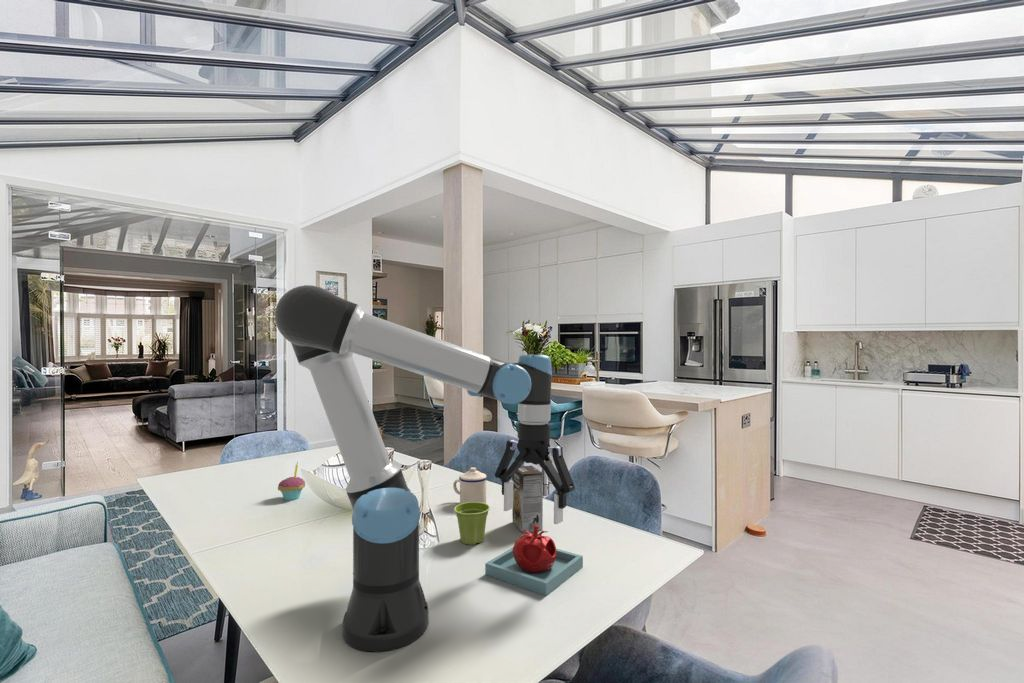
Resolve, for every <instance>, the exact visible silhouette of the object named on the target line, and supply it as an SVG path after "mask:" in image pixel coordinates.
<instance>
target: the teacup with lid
mask: <svg viewBox="0 0 1024 683" xmlns="http://www.w3.org/2000/svg"><path fill="white" fill-rule="evenodd" d="M469 468H470V469H469V470H468V471H466V472H464V473H461V474H460V475H459V478H458V479H456V480H454V481H453V486H452V487H453V490H454V492H455V494H457V495H459V504H462V503H467V502H481V503H485V504H487V478H488V477H487V474H486V473H484V472H481V471H479V470H477V468H476V467H469ZM458 482H459V490H458V487H457V483H458Z"/></svg>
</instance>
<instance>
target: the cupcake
mask: <svg viewBox="0 0 1024 683" xmlns="http://www.w3.org/2000/svg"><path fill="white" fill-rule="evenodd" d="M298 462H299V461H297V462H296V464H295V470H294V475H293V476H289V477H287V478H285V479H282V480H281V481H280V482H279V483H278V485H277V491H280V493H281V494H282V497H283V500H284V501H295V500H298V499H300V498H301V494H302V491H303V489H304V488H305V487H306V481H305V480H304V478H302V477H299V476H297V474H298V467H299V466H298V465H299V464H298Z"/></svg>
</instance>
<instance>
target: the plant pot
mask: <svg viewBox="0 0 1024 683" xmlns="http://www.w3.org/2000/svg"><path fill="white" fill-rule="evenodd" d="M490 509H491V506H490V505H489V504H487V503H486V504H485V503H481V502H467V503H462V504H460V503H458V504H457V505H455V507H454V508H453V510H454V512H455V515H456V518H457V524H458V529H459V537H460V542H462V543H463V544H465V545H471V546H472V545H475V544H478V543H479V544H481V543H482V542H484V540H485V534H486V533H485V532H486V526H487V519H488V518H487V517H488V515H489V511H490Z"/></svg>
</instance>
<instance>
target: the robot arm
mask: <svg viewBox="0 0 1024 683" xmlns="http://www.w3.org/2000/svg"><path fill="white" fill-rule="evenodd" d="M274 321H275V325H276V328H277V329H278V331H279V333H280V334H281V335H282V337H283V338H284V339H285V340H287V341H288V342H289V343H290V344H291V346H292V349H293V351H294V352H293V353H294V355H295V358H296V359H297V362H298V365H299V366H302V367H304V368H306V369H308V370H309V372H310V373H311V377H312V380H313V382H314V385H315V388H316V390H317V393H318V396H319V398H320V401H321V404H322V406H323V410H324V411H325V414H326V417H327V420H328V423H329V426H330V427H331V430H332V433H333V436H334V439H335V442H336V444H337V447H338V449H339V452H340V456H341V457H342V461H343V463H344V465H345V466H344V467H345V469H346V471H347V475H348V477H349V480H348V483H347V485H346V487H345V491H346V495H347V498H348V500H349V504H350V506H351V509H352V510H353V512H352V515H351V524H352V527H353V529H352V530H353V531H352V533H353V535H352V544H353V545H352V553H353V554H352V557H353V558H352V575H353V576H352V578H353V580H352V584H353V585H352V591H351V593H350V597H349V601H348V604H347V608H346V611H345V613H344V615H343V619H342V638H343V640H344V642H345V643H346V644H348V645H349V646H350V647H352V648H354V649H357V650H360V651H366V652H383V651H385V652H386V651H391V650H395V649H398V648H401V647H404V646H406V645H409V644H411V643H412V642H414V641H416V640H417V639H419V638H420V637H421V636H422V635H423V634H424V633H425V631H426V630H427V628H428V626H429V624H430V622H429V621H430V619H429V617H430V616H429V614H430V613H429V612H430V610H429V605H428V602H427V601H426V600H427V599H426V597H425V593H424V590H423V587H422V585H421V584H422V583H421V581H420V539H419V538H420V518H421V509H420V506H419V499H418V498H417V496H416V495H415V494H414V493H413V492H411V489H410V488H409V487H408V485H407V481H406V479H405V476H404V474H403V471H402V469H401V466H400V465H399V464H396V463H394V462H392V461H391V460H390V457H389V454H388V452H387V449H386V446H385V443H384V441H383V438H382V435H381V431H380V430H379V427H378V423H377V421H376V419H375V416H374V412H373V410H372V407H371V404H370V402H369V399H368V396H367V393H366V391H365V388H364V385H363V382H362V379H361V378H360V374H359V372H358V369H357V366H356V363H355V360H354V358H353V353H354V354H357V355H359V356H362V357H365V358H368V359H371V360H375V361H379V362H381V363H383V364H387V365H390V366H393V367H396V368H399V369H402V370H406V371H408V372H412V373H413V374H417V375H421V376H424V377H427V378H430V379H433V380H436V381H439V382H443V383H445V384H448V385H452V386H454V387H458V388H460V389H464V390H466V392H467V394H468V395H469V396H470V397H479V398H483V397H487V398H490V399H494V400H497V401H499V402H501V403H503V404H505V405H506V404H507V405H516V404H517V420H518V421H519V422H518V423H517V439H518V441H517V440H516V439H515V438H513V439H510V440H507V441H506V443H505V444H506V445H505V450H504V453H503V455H502V457H501V460H500V461H499V464H498V466H497V469H496V470H495V473H494V478H498V479H500V481H501V496H503V511H504V512H508V511H510V510H512V509H513V481H512V476H513V475H514V474H515V473H516V472H517V470H518V469H519V468H520V467H521V466H523V464H525V463H526V464H530V463H531V464H533V465H538V466H539V468H542V469H543V471H544V472H545V474H546V476H547V477H548V479H549V480H550V482H551V484H552V486H553V487H554V489H555V491H556V492H554V494H553V525H559V524H561V523H562V522H564V509H565V508H566V507H567V494H568V493H570V492H573V491H575V490H576V487H575V484H574V481H573V479H572V476H571V474H570V471H569V469H568V466H567V463H566V460H565V458H564V453H563V452H564V451H563V447H562V446H561V445H558V446H551V445H550V440H551V424H550V423H549V422H550V421H551V418H552V417H551V412H552V411H551V409H552V402H551V401H552V400H551V398H552V393H551V392H552V377H553V373H552V371H553V370H552V359H551V357H550V356H548V355H546V354H521V355H519V357H518V361H517V362H512V363H511V362H510V363H508V362H506V361H502V360H499V359H497V358H494V357H490V356H488V355H486V354H482V353H480V352H478V351H474V350H471V349H469V348H465V347H463V346H461V345H458V344H454V343H451V342H449V341H445V340H444V339H441V338H437V337H435V336H431V335H429V334H426V333H423V332H420V331H418V330H414V329H412V328H408V327H407V326H403V325H400V324H398V323H395V322H392V321H389V320H386V319H383V318H380V317H378V316H375V315H372V314H370V313H366V312H364V311H363V309H362V307H361V305H360V304H359V303H358V304H357V303H355V302H353V301H349V300H346V299H344V298H343V297H340V296H337V295H335V294H334V293H332V292H330V291H329V290H326V289H325V288H322V287H320V286H316V285H312V284H310V285H307V284H305V285H299V286H296V287H294V288H293V287H292V288H291V289H289V290H288V291H286V292H285V293H284V294H283V295H282V296H281V297H280V299H279V300H278V302H277V304H276V307H275V309H274ZM516 450H518V455H517V456H516V457H515V458H514V455H515V453H516ZM550 456H551V457H552V459H551V458H550ZM513 458H514V461H513V462H512V463H511V461H512V459H513ZM553 463H554V464H553ZM510 464H511V465H510Z"/></svg>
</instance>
